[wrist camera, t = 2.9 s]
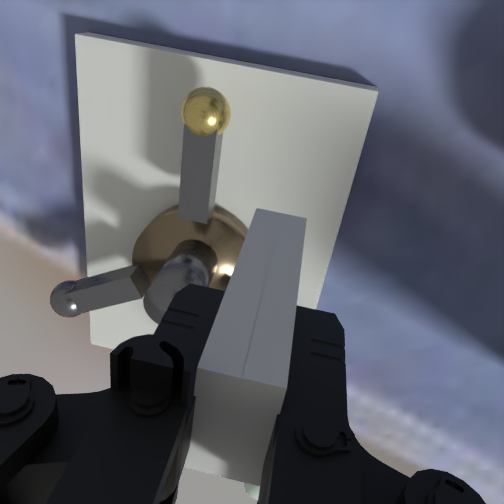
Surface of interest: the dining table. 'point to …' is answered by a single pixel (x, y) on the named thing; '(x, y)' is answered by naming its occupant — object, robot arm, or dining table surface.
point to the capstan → (174, 229)
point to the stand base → (231, 159)
